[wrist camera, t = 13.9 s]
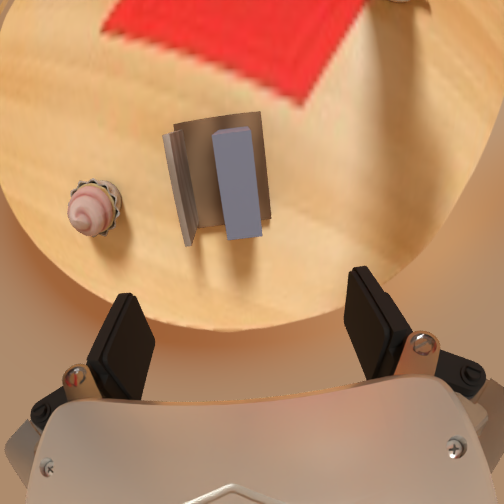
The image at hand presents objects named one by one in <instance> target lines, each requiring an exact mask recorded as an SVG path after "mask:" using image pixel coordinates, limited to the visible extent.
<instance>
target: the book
mask: <svg viewBox="0 0 504 504" xmlns="http://www.w3.org/2000/svg"><path fill="white" fill-rule="evenodd" d="M212 141H213V148H214V155H215V162H216V169H217V175H218V182H219V189H220V195H221V201H222V208H223V214H224V220H225V227H226V233H227V239H228V240H234V239H243V238H251V237H259V236H262V227H261V217H260V208H259V198H258V189H257V180H256V171H255V162H254V153H253V144H252V135H251V130H250V129H249V127H248V126H246V127H237V128H229V129H222V130H218V131H216V132H215V133H214V134H213V135H212Z"/></svg>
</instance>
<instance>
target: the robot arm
mask: <svg viewBox="0 0 504 504" xmlns="http://www.w3.org/2000/svg"><path fill="white" fill-rule="evenodd" d="M389 1H393V2H407V1H409V0H389ZM344 324H345V327H346V329H347V332H348V334H349V337H350V339H351V342H352V344H353V347H354V349H355V351H356V354H357V356H358V359H359V362H360V364H361V367H362V369H363V372H364V374H365V377H366V380H367V381H362V382H358V383H353V384H348V385H343V386H339V387H332V388H328V389H322V390H316V391H310V392H304V393H298V394H290V395H282V396H274V397H265V398H255V399H243V400H227V401H200V402H167V401H142V400H141V397H142V393H143V389H144V385H145V381H146V377H147V372H148V369H149V365H150V361H151V358H152V353H153V350H154V347H155V338H154V336H153V334H152V332H151V329H150V327H149V325H148V323H147V321H146V318H145V316H144V314H143V311H142V309H141V307H140V304H139V302H138V300H137V298H136V296H133V294H132V293H121V294H118V296H117V298H116V300H115V302H114V303H113V305H112V307H111V309H110V311H109V313H108V315H107V317H106V319H105V321H104V323H103V325H102V327H101V329H100V331H99V333H98V336H97V338H96V340H95V342H94V344H93V346H92V348H91V351H90V353H89V355H88V357H87V364H86V365H85V364H75V365H73V366H71V367H70V368H69V369H67V370H66V371H65V373H64V375H63V378H62V383H63V386H62V387H60V388H59V389H57V390H56V391H54V392H53V393H51V394H49V395H48V396H46V397H45V398H43V399H42V400H40V401H38V402H37V403H36V404H35V405H34V406H33V408H32V410H31V420H30V421H29V420H28V419H27V420H26V421H25V422H24V423H23V424H22V425H21V427H20V428H19V429H18V430H17V431H16V432H15V433H14V434H13V435H12V436H11V438H10V439H9V440H8V441H7V443H6V445H5V454H6V457H7V458H8V460H9V462H10V463H11V465H12V467H13V468H14V470H15V472H16V473H17V475H18V476H19V478H20V479H21V481H22V482H23V484H24V485H25V486H26V488H27V495H26V503H25V504H498V502H497V497H496V493H495V489H494V485H493V481H492V477H491V473H492V472H493V470H494V468H495V467H496V465H497V463H498V462H499V460H500V458H501V456H502V455H503V453H504V387H503V386H501V385H500V384H498V383H497V382H496V381H494V380H493V379H490V380H487V379H486V374H485V371H484V369H483V368H482V366H480V365H479V364H478V363H475V362H474V361H471V360H468V359H465V358H463V357H459V356H457V355H454V354H451V353H449V352H446V351H443V350H440V343H439V340H438V339H437V338H436V336H434V335H433V334H432V333H430V332H427V331H415V332H413V331H412V329H411V328H410V326H409V324H408V323H407V321H406V320H405V318H404V316H403V315H402V313H401V312H400V310H399V309H398V307H397V306H396V304H395V303H394V301H393V300H392V298H391V297H390V295H389V294H388V293H386V292H384V291H383V289H382V288H381V286H380V285H379V283H378V282H377V280H376V279H375V277H374V276H373V275H372V273H371V272H370V270H369V269H368V267H367V266H360V267H354V268H353V269H352V271H350V272H349V275H348V285H347V295H346V303H345V312H344Z"/></svg>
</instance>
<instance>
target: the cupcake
mask: <svg viewBox="0 0 504 504" xmlns="http://www.w3.org/2000/svg"><path fill="white" fill-rule="evenodd" d="M120 208H121V196H120V193H119V191H118V189H117V188H116V187H115V186H114V185H113V184H112V183H110V182H108V181H97V180H95V179H94V178H92V179H91V180H89V181H88V182H85V181H79V183H78V186H77V189H73V190H72V191H71V199H70V202H69V203H68V213H67V214H68V218H69V220H70V223H71V224H72V226H73V227H74V228H75V229H76V230H77V231H79V232H80V233H82V234H84V235H86V236H92V237H95V236H97V235H98V234H100V235H102V236H107V233H108V230H110V229H114V228H115V227H116V218H117V217H118V216H119V215H120V211H119V210H120Z"/></svg>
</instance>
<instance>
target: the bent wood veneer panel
mask: <svg viewBox="0 0 504 504" xmlns="http://www.w3.org/2000/svg"><path fill="white" fill-rule="evenodd" d="M173 125H174V132H171V133H168V134H165V135H162V136H163V141H164V147H165V153H166V158H167V164H168V169H169V174H170V179H171V184H172V189H173V194H174V199H175V204H176V208H177V213H178V217H179V222H180V226H181V230H182V235H183V239H184V243H185V247H187V246H192V243H193V239H194V236H195V233H196V230H197V228H202V227H210V226H217V225H225V220H224V214H223V208H222V201H221V195H220V189H219V182H218V175H217V169H216V162H215V155H214V148H213V141H212V135H213V134H214V133H215V132H216V131H218V130H222V129H229V128H237V127H246V126H248V127H249V129H250V130H251V135H252V144H253V153H254V162H255V171H256V180H257V189H258V198H259V208H260V217H261V220H265V219H271V209H270V199H269V188H268V178H267V168H266V158H265V149H264V139H263V130H262V121H261V112H260V111H259V112H249V113H241V114H233V115H225V116H218V117H212V118H205V119H199V120H194V121H188V122H183V123H178V124H173Z"/></svg>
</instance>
